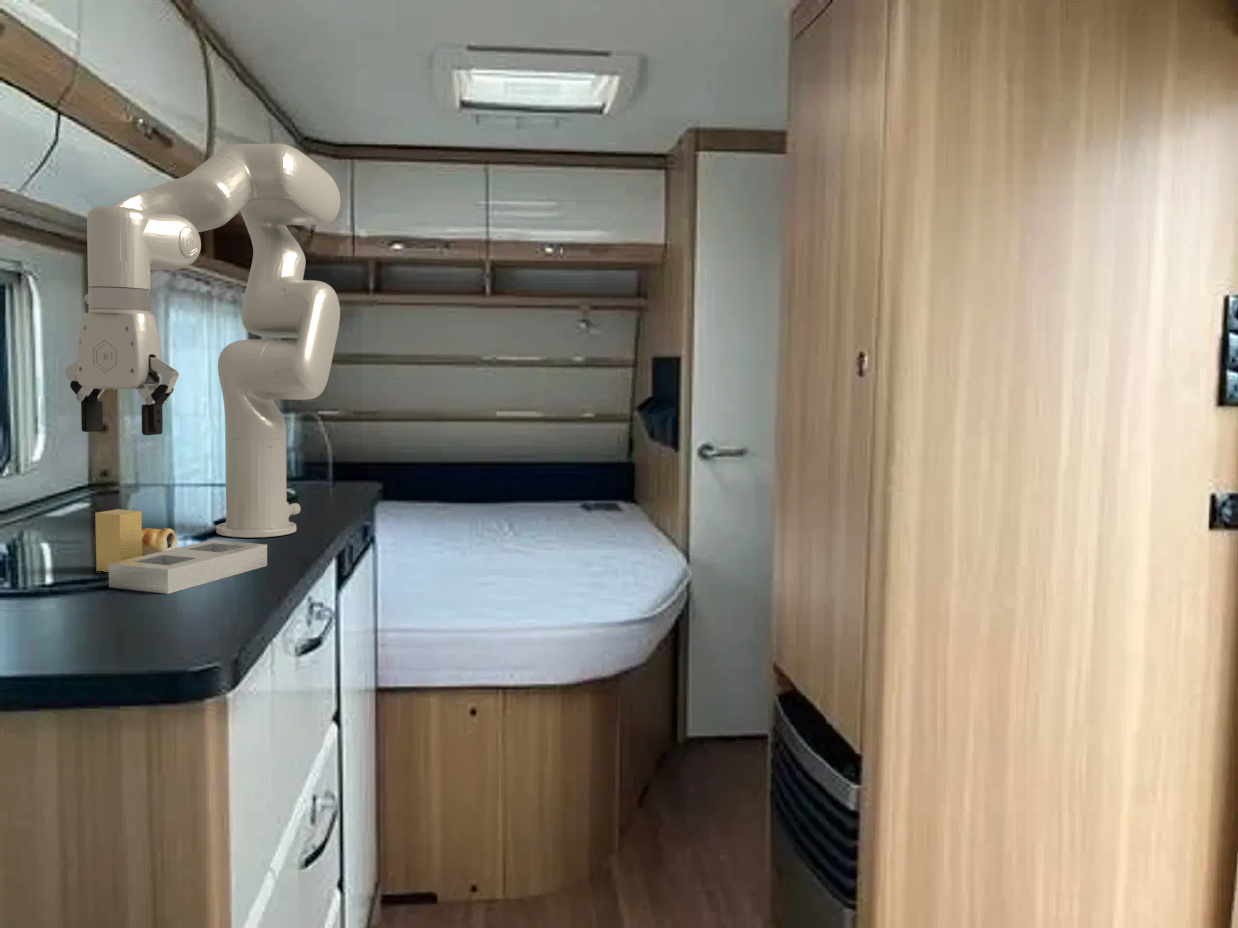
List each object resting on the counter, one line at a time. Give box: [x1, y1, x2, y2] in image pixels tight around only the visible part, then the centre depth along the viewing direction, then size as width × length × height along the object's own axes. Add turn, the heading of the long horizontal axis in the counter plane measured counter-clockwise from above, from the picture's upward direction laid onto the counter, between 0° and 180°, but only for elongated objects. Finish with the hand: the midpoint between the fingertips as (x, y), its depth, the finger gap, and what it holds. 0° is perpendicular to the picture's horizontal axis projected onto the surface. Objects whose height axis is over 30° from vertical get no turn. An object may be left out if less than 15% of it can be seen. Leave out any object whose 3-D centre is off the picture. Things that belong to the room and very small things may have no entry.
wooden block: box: [94, 508, 143, 572], centre depth 149 cm, size 4×4×8 cm
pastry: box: [142, 527, 179, 556], centre depth 164 cm, size 9×7×4 cm
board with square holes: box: [108, 539, 268, 595], centre depth 147 cm, size 20×9×3 cm, turn 162°
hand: (122, 432), depth 147 cm, fingers open, 9 cm apart
